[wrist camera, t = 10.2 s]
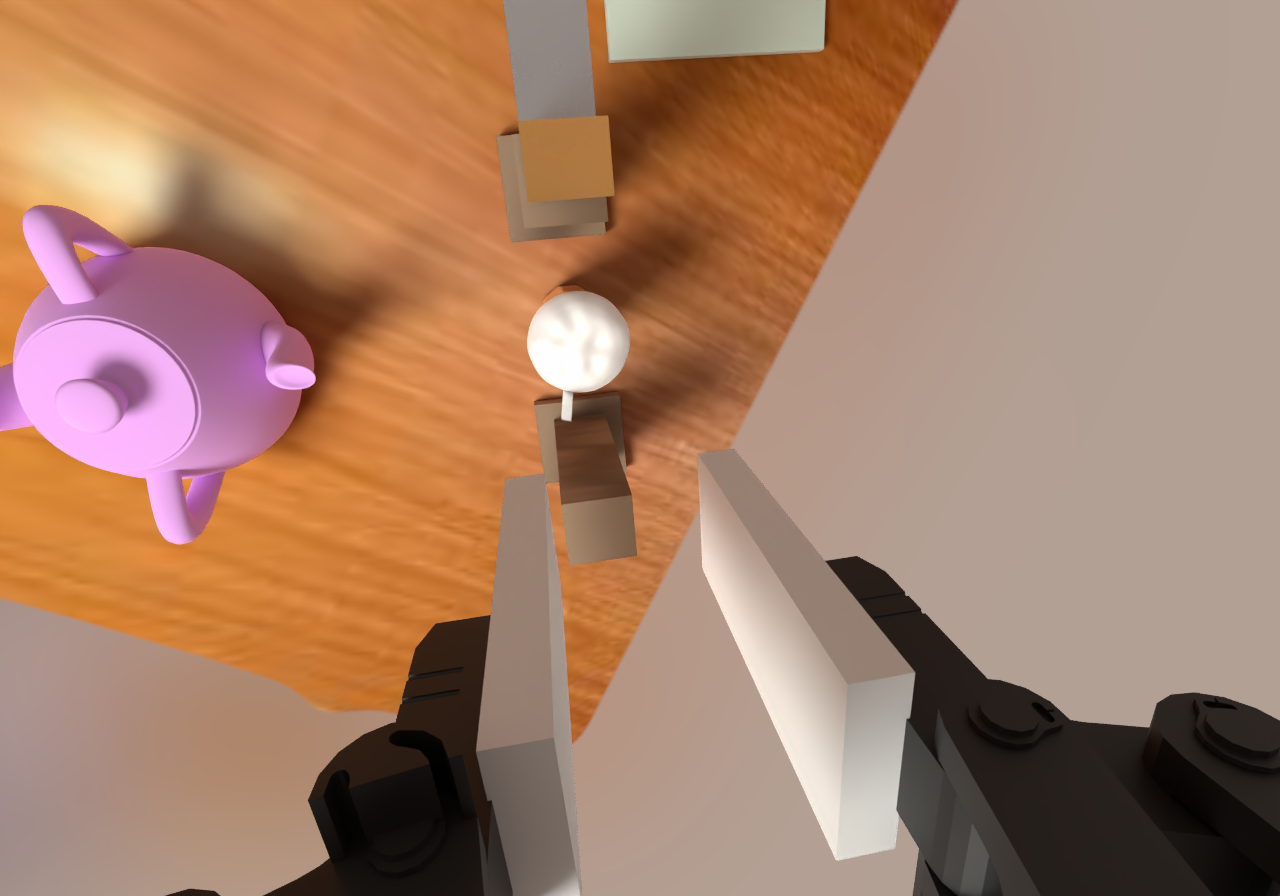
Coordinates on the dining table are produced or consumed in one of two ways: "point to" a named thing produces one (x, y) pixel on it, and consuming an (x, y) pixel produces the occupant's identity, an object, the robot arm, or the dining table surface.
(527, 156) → the bar
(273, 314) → the teapot
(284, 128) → the dining table surface
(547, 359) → the milkshake
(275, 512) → the dining table surface
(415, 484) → the dining table surface
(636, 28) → the mat
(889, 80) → the dining table surface
